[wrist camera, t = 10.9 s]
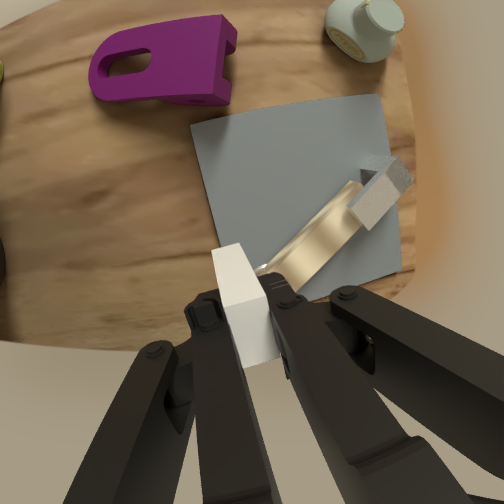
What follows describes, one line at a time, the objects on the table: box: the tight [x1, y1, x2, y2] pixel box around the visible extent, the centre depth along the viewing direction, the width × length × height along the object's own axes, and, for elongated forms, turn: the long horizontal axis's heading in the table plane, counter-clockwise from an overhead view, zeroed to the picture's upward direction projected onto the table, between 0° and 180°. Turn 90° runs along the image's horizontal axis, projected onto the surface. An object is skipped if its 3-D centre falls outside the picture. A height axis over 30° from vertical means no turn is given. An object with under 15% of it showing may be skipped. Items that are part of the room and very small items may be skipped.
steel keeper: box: [345, 155, 414, 231], centre depth 41 cm, size 10×4×6 cm, turn 135°
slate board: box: [190, 93, 402, 301], centre depth 44 cm, size 27×28×2 cm
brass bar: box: [255, 181, 363, 292], centre depth 43 cm, size 20×5×3 cm, turn 135°
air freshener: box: [325, 0, 404, 63], centre depth 33 cm, size 11×8×10 cm
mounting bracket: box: [88, 14, 237, 106], centre depth 34 cm, size 10×8×18 cm
